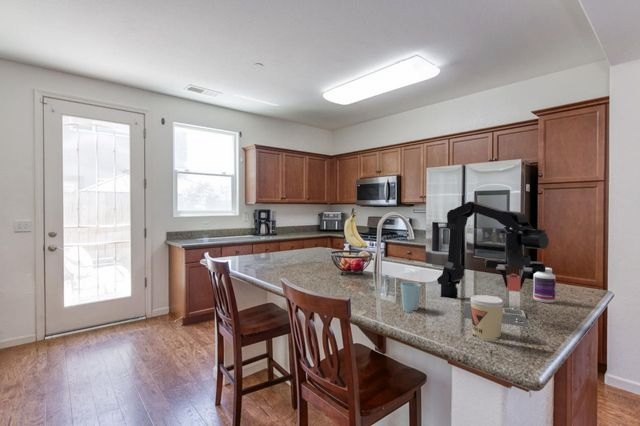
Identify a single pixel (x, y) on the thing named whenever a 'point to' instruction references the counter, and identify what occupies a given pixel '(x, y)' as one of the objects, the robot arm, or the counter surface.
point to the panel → (504, 316)
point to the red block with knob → (513, 282)
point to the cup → (410, 296)
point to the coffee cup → (486, 317)
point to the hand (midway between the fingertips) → (513, 288)
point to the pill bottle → (544, 286)
